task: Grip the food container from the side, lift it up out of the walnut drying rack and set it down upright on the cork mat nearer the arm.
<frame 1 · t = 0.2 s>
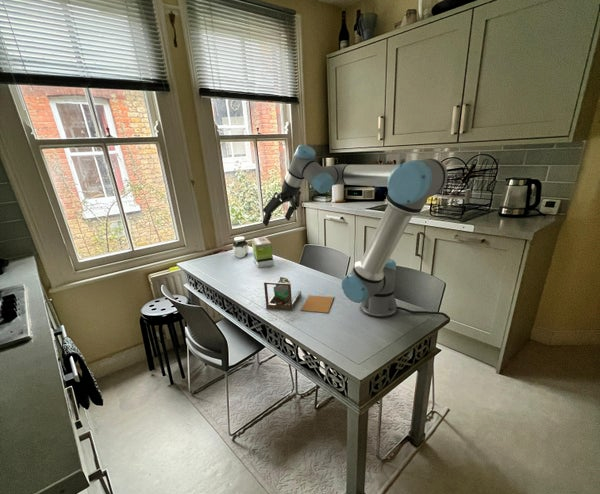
hand: (276, 221, 145), 35 cm above the table, tool tilted 35°, fingers open, 13 cm apart
rack: (284, 301, 149), on the table
spread jar: (241, 255, 216), on the table
tea box: (263, 263, 200), on the table
cork mat: (317, 304, 145), on the table
food container: (284, 301, 149), resting in rack
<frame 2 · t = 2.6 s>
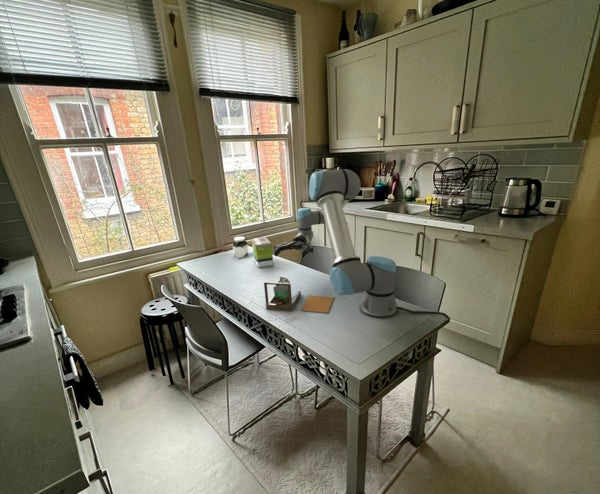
hand: (288, 254, 150), 20 cm above the table, tool horizontal, fingers open, 13 cm apart
nothing on the table moved.
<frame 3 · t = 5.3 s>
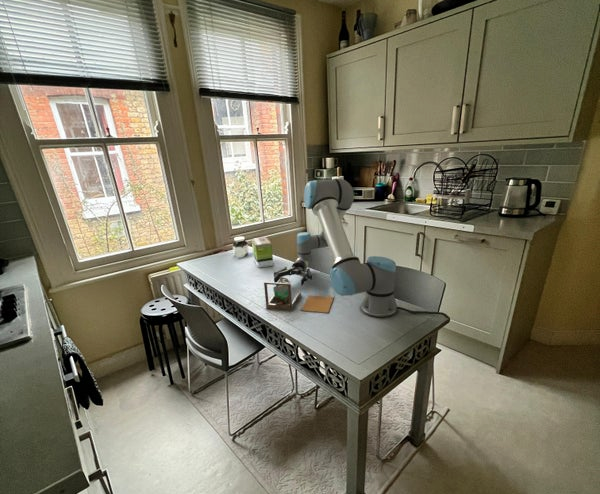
hand: (288, 281, 152), 7 cm above the table, tool horizontal, fingers open, 13 cm apart
nothing on the table moved.
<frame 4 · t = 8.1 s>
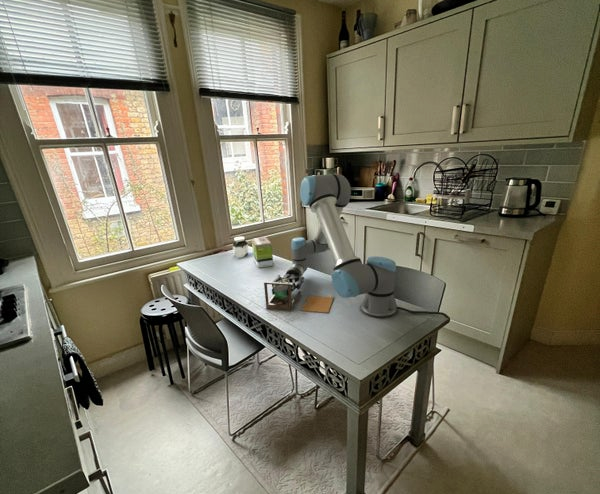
hand: (280, 292, 141), 7 cm above the table, tool horizontal, fingers closed on food container, 6 cm apart
food container: (284, 301, 149), resting in rack, touching gripper
everything else where it was.
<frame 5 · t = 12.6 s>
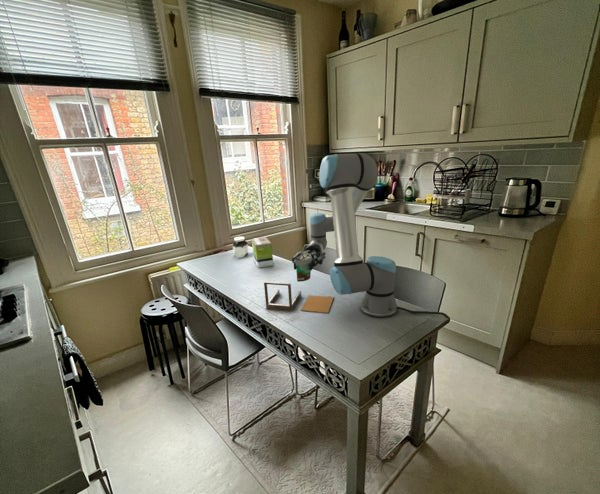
hand: (302, 267, 133), 20 cm above the table, tool horizontal, fingers closed on food container, 6 cm apart
food container: (306, 278, 141), point 13 cm above the table, touching gripper
everything else where it was.
when the fingers open (7 cm above the table, at t = 17.0 s): food container stays where it is, resting on cork mat.
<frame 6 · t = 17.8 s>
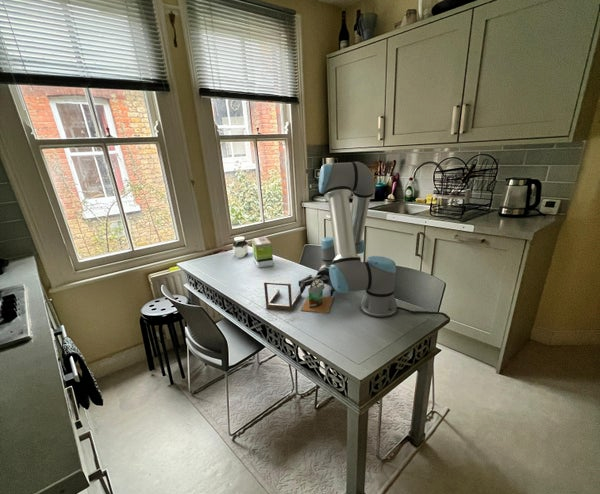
hand: (316, 292, 138), 8 cm above the table, tool horizontal, fingers open, 13 cm apart
food container: (317, 303, 145), resting on cork mat
everything else where it was.
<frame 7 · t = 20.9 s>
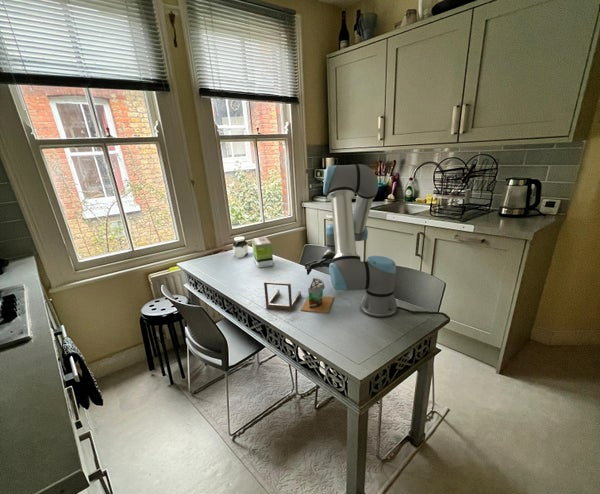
hand: (321, 273, 148), 12 cm above the table, tool horizontal, fingers open, 13 cm apart
nothing on the table moved.
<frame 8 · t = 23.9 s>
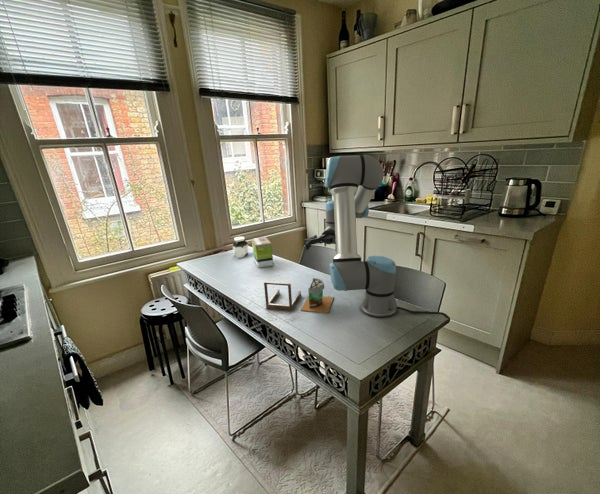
hand: (321, 247, 143), 24 cm above the table, tool horizontal, fingers open, 13 cm apart
nothing on the table moved.
at the end: food container inside the target area on the cork mat (0.1 cm from its centre), point 0.2 cm above the cork mat's base; food container tilted 0°; food container touching cork mat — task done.
